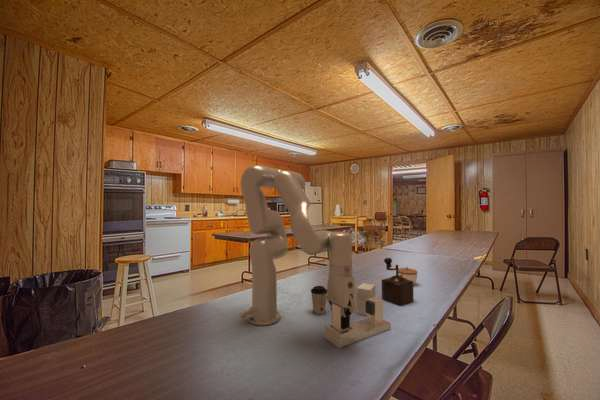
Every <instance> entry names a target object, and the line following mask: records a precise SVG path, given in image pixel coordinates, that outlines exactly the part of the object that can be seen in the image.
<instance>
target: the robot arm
mask: <svg viewBox="0 0 600 400" xmlns="http://www.w3.org/2000/svg"><path fill="white" fill-rule="evenodd" d="M262 188H266V189H267V188H269V189H275V190H276V191H277V193H278V195H279V197H280V199H281V200H282V202H283V204H284V206H285V207H286V209H287V210H288V212H289V224H290V229H291V232H292V235H293V237H294V238H295V241H296V242H297V244H298V246H299V248H300V249H301V250H302V251H303V252H304V253H305V254H307V255H310V256H316V255H318V254H321V253H326V252H328V276H327V283H326V284H327V285H326V289H327V296H326V301H328V304H329V306H330V311H331V312H332V303H335V304H337V305H339V306H341V308H342V316H341V329H346V328H349V327H350V323H351V320H350V316H351V317H352V314H353V313H355V312H357V288H356V282H355V277H354V275H353V253H352V252H353V243H352V242H353V240H352V239H353V238H352V234H351V233H349V232H345V231H331V230H325V229H322V230H315V229H314V228H313V226H312V224H311V223H310V220H309V218H308V210H309V207H310V205H311V200H310V199H309V198H308V196H307V194H306V193H305V191H304V190H305V188H306V180H305V177H304V176H303V175H302V174H301V173H299V172H295V171H291V170H282V169H279V168H275V167H270V166H266V165H265V166H264V165H258V164H256V165H255V164H254V165H250V166H248V167H247V168H246V169H245V170H244V171H243V173H242V175H241V177H240V189H241V193H242V196H243V197H242V198H243V200H244V205H245V210H246V211H245V212H246V216H247V222H248V227H249V230H250V233H252V234H254V235H264V234H265V235H266V236H264V237H263V236H262V237H260V238H257V239H255V240H254V241H253V242H252V243H251V244H250V245H249V246H250V247H249V257H250V261H251V262H250V263H251V282H252V284H251V287H252V288H251V289H252V290H251V297H252V298H251V302H252V303H251V306H250V307H249V309H247V311H241V312H239V318H240V319H242V318H245V319H246V320H247V321H248V322H249V323H250V324H252V325H255V326H269V325H274V324H275V323H276V324H277V323H278V322H279V321H280V320H281V318H282V317H281V313H280V312H279V311H277V309H278V306H277V305H278V303H277V301H278V296H277V295H278V292H277V291H278V290H277V286H278V285H277V284H278V283H277V282H278V281H277V279H278V278H277V269H276V266H275V263H274V262H275V261H274V260H277V259H280V258H283V257H284V256H286V254H287V253H288V249H289V243H288V237H287V233H286V227H285V222H284V219H283V217H282V215H281V214H280V212H278V211H276V210H269V208H268V204H267V199H266V196H265V194H264V192H263V191H262ZM346 308H347V311H346V312H345V309H346Z"/></svg>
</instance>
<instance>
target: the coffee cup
mask: <svg viewBox="0 0 600 400" xmlns="http://www.w3.org/2000/svg"><path fill="white" fill-rule="evenodd" d="M310 292H311V299H312V308H313V313H314V314H316V315H323V314H325V313H326V312H325V311H326V303H327V298H326V297H327V288H325V286H323V285H315V286H313V288H311V290H310Z"/></svg>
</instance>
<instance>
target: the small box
mask: <svg viewBox="0 0 600 400" xmlns="http://www.w3.org/2000/svg"><path fill="white" fill-rule="evenodd" d="M373 297H375V298H376V285H375V284H371V283H366V282H365V283H364V282H362V283H361V284H360V285H359V286H357V288H356V309H357V311H356V313H357V314H359V315H364V316H367V313H366V301H367V299H369V298H373Z"/></svg>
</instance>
